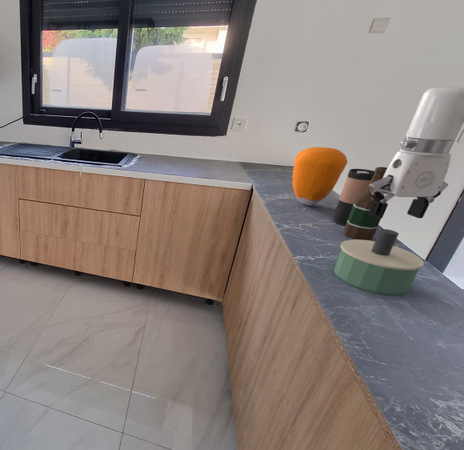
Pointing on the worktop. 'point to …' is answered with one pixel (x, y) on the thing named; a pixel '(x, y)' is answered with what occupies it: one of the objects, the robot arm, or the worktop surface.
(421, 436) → the worktop surface
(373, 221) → the beer bottle
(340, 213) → the travel mug
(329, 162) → the orange egg-shaped ornament
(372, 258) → the lid
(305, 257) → the worktop surface
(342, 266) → the green round bowl
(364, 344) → the worktop surface
